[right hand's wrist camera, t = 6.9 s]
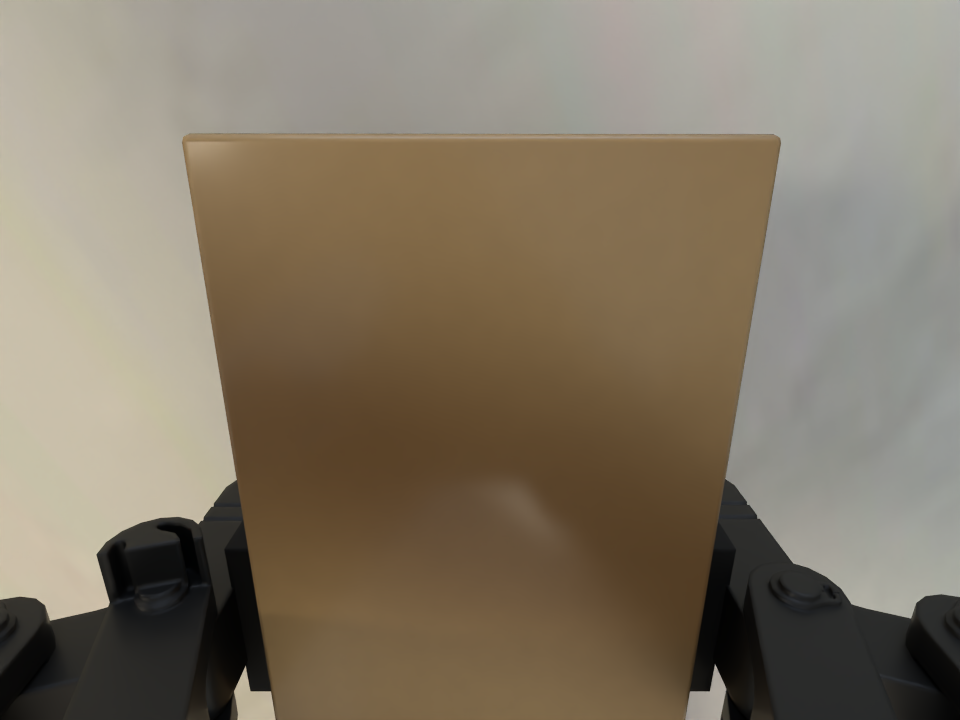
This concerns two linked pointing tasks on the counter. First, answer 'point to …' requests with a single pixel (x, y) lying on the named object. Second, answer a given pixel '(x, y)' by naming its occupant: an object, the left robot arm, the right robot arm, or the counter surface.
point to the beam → (481, 408)
